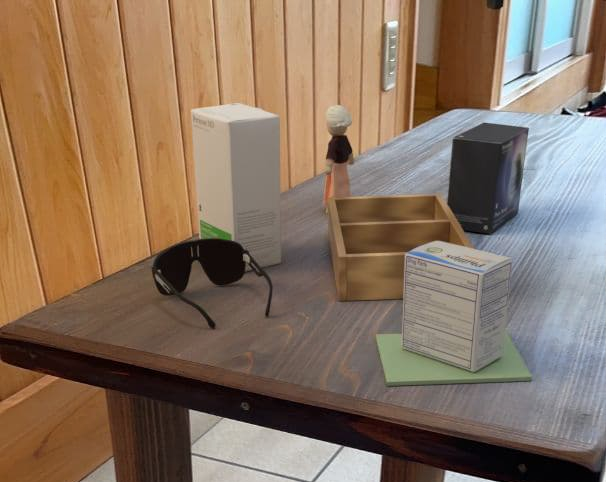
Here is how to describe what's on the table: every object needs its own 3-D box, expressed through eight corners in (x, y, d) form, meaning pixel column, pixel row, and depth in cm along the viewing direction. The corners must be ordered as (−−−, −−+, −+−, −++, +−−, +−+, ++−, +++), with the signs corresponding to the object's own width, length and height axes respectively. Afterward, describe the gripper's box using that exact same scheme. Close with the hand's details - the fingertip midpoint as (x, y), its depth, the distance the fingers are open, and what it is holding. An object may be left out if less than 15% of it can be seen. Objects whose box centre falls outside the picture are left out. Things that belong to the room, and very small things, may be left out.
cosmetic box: (199, 256, 99) (185, 108, 90) (247, 245, 102) (238, 101, 93) (237, 275, 93) (226, 119, 84) (287, 263, 96) (281, 111, 87)
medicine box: (503, 358, 73) (515, 257, 68) (473, 375, 71) (483, 271, 65) (430, 334, 78) (437, 238, 73) (399, 349, 75) (403, 250, 70)
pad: (505, 333, 78) (505, 329, 78) (531, 381, 70) (532, 376, 70) (375, 338, 78) (375, 334, 78) (386, 386, 70) (387, 381, 70)
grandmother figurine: (330, 202, 117) (329, 100, 109) (358, 204, 116) (359, 100, 108) (316, 218, 111) (314, 110, 103) (344, 220, 110) (344, 111, 102)
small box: (493, 236, 103) (503, 141, 96) (442, 229, 105) (449, 137, 99) (521, 213, 110) (532, 124, 104) (473, 208, 113) (481, 121, 106)
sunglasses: (241, 276, 93) (240, 231, 89) (290, 325, 85) (291, 278, 82) (149, 294, 89) (144, 247, 86) (191, 347, 81) (188, 299, 78)
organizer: (438, 231, 104) (441, 193, 102) (472, 296, 86) (476, 251, 84) (328, 235, 104) (327, 197, 102) (338, 301, 86) (338, 256, 84)
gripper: (471, -281, 58) (457, 15, 68) (725, -296, 58) (672, 1, 68) (451, -262, 64) (440, 7, 74) (680, -275, 64) (638, -5, 74)
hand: (551, 4), depth 71 cm, fingers open, 9 cm apart
